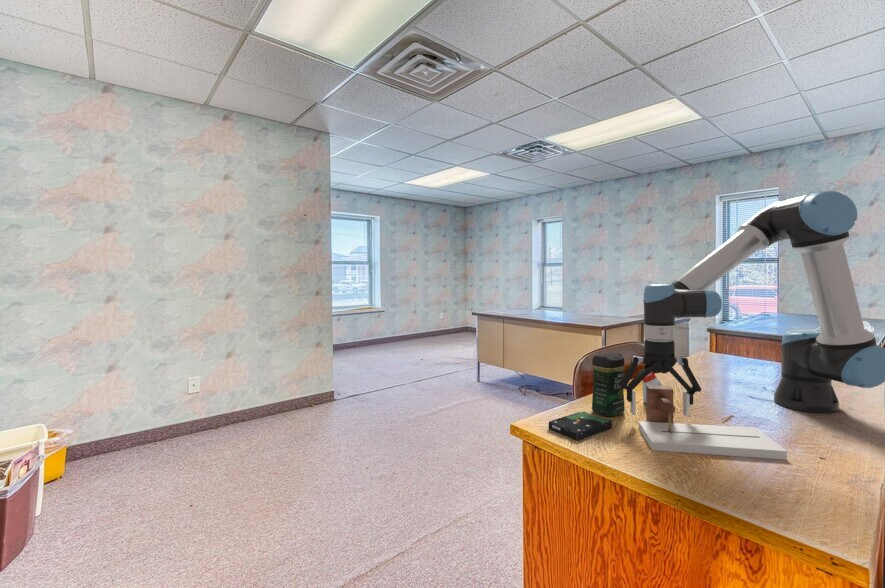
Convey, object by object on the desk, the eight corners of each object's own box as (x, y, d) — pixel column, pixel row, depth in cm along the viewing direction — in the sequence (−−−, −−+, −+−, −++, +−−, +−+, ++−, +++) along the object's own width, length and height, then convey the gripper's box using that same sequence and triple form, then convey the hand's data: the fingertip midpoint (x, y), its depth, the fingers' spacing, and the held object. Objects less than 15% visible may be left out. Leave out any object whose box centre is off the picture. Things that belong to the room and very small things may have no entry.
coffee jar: (610, 419, 119) (609, 357, 118) (587, 412, 125) (587, 353, 124) (629, 412, 124) (629, 353, 123) (607, 405, 130) (606, 349, 129)
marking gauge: (668, 422, 115) (668, 385, 114) (684, 442, 102) (684, 399, 101) (645, 421, 116) (645, 384, 116) (658, 440, 103) (658, 398, 103)
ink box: (663, 398, 136) (663, 365, 135) (650, 404, 130) (650, 370, 130) (654, 396, 138) (654, 364, 138) (642, 402, 132) (641, 368, 132)
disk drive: (578, 443, 104) (612, 429, 112) (578, 433, 104) (612, 419, 112) (548, 431, 113) (582, 418, 121) (547, 421, 113) (582, 409, 121)
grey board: (755, 435, 105) (755, 427, 104) (786, 459, 91) (787, 450, 91) (638, 428, 111) (638, 420, 111) (651, 450, 98) (651, 441, 98)
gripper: (613, 341, 111) (614, 416, 112) (715, 342, 105) (715, 421, 106) (609, 337, 118) (609, 407, 119) (704, 337, 112) (704, 412, 113)
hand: (659, 414), depth 113 cm, fingers open, 13 cm apart
